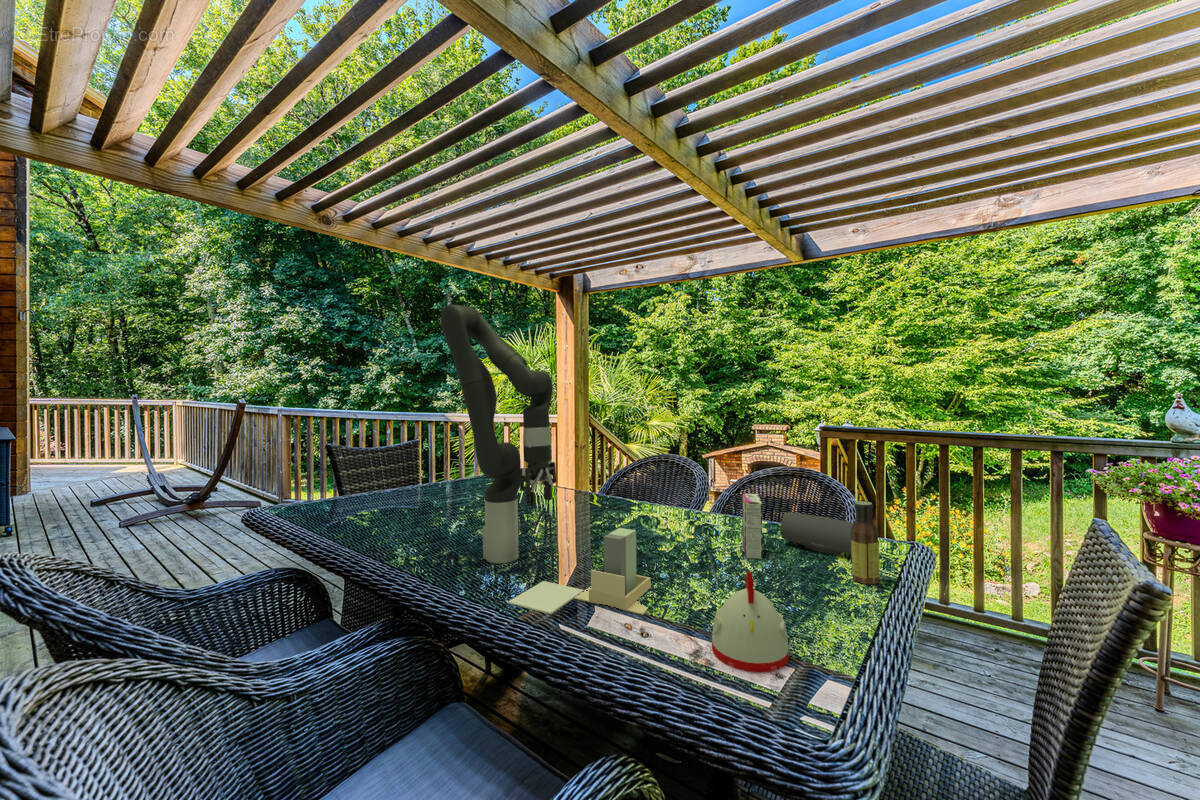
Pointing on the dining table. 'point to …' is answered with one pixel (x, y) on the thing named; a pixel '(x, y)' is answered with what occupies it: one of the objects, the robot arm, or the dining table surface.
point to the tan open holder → (615, 591)
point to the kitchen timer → (750, 632)
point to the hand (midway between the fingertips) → (539, 503)
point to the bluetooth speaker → (817, 533)
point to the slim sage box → (621, 556)
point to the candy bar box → (752, 526)
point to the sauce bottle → (865, 545)
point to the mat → (546, 597)
